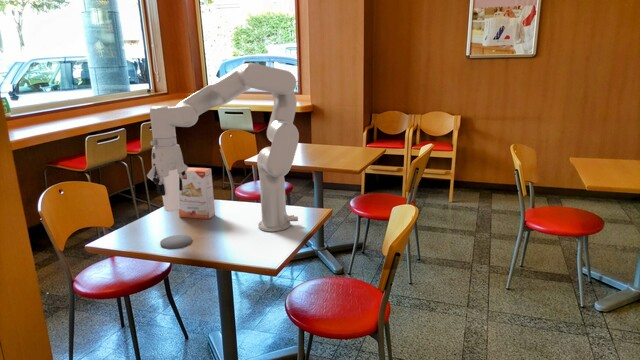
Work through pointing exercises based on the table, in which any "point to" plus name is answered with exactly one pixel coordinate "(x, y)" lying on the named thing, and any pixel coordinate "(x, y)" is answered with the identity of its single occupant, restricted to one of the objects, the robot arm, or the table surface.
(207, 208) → the cracker box
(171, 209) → the drinking glass
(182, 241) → the coaster
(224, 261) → the table surface
